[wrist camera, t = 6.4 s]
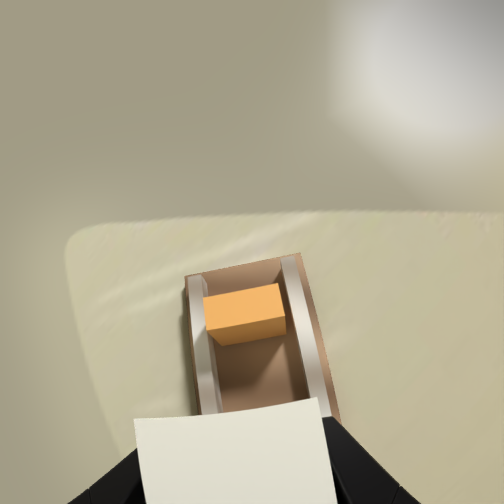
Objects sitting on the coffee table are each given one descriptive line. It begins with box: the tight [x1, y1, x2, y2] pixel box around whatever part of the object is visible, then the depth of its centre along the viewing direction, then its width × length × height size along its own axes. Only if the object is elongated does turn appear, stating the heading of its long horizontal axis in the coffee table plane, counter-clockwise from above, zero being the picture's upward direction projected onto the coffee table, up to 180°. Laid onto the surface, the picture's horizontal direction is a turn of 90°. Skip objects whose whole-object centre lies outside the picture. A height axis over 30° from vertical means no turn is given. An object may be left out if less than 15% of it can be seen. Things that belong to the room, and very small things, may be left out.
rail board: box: [185, 253, 342, 425], centre depth 18 cm, size 20×9×3 cm, turn 9°
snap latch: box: [203, 283, 287, 346], centre depth 19 cm, size 2×4×4 cm, turn 99°
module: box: [134, 397, 337, 504], centre depth 9 cm, size 4×4×10 cm
